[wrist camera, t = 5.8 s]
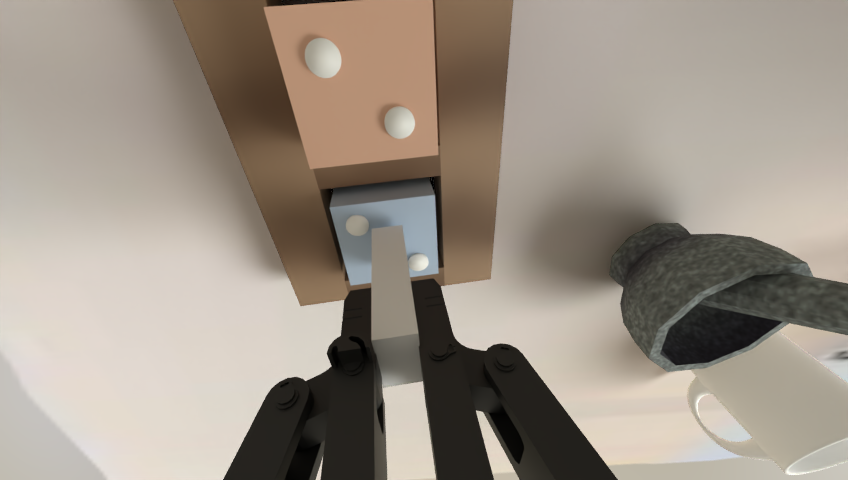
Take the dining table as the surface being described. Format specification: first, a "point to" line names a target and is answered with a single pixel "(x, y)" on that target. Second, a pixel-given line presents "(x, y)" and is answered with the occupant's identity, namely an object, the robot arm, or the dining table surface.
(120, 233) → the dining table surface
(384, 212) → the button block
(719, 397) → the mug
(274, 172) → the button board
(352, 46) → the button block
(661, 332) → the mortar and pestle
